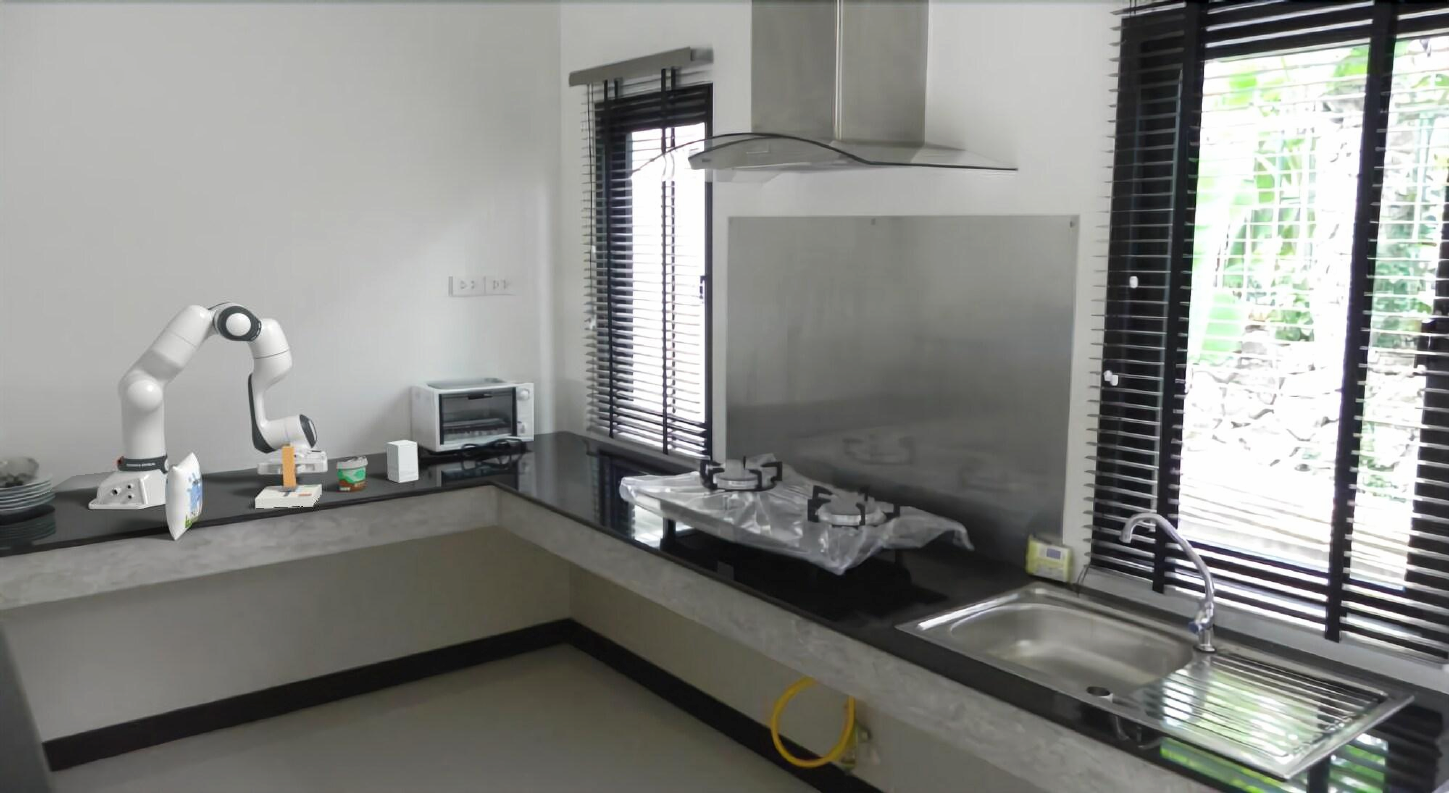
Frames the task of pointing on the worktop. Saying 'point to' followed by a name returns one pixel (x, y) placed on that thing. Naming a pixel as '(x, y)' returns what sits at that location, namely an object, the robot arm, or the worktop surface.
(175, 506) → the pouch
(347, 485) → the food container
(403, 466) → the supplement box
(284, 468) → the handle
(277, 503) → the white flat block
